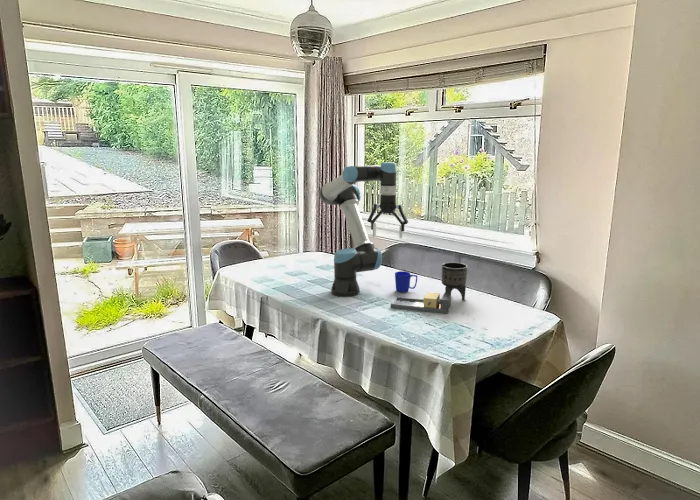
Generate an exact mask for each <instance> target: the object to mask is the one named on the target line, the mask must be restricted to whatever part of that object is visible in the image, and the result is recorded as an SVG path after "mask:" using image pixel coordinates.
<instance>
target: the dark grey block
mask: <svg viewBox="0 0 700 500" xmlns="http://www.w3.org/2000/svg"><path fill="white" fill-rule="evenodd" d="M440 299H441V309H442V311H443V310H445V311H446V310H447V311H448V309H449V307H450V305H452V292H451V293H449V292H445V291H444V293H443V295H442V297H440ZM450 308H451V307H450ZM449 310H450V309H449ZM440 311H441V310H440ZM442 311H441V312H442ZM448 312H449V311H448Z"/></svg>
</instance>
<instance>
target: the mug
mask: <svg viewBox="0 0 700 500" xmlns="http://www.w3.org/2000/svg"><path fill="white" fill-rule="evenodd" d="M412 277H415V283H414V286H413V287H411V278H412ZM394 280H395V290H396V291H397V292H398V293H406V292H408V291H409V289H411V290H413V289H415V288H416V286H417V283H418V275H416V274H411V273H410V272H409V271H396V272H395V273H394Z"/></svg>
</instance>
